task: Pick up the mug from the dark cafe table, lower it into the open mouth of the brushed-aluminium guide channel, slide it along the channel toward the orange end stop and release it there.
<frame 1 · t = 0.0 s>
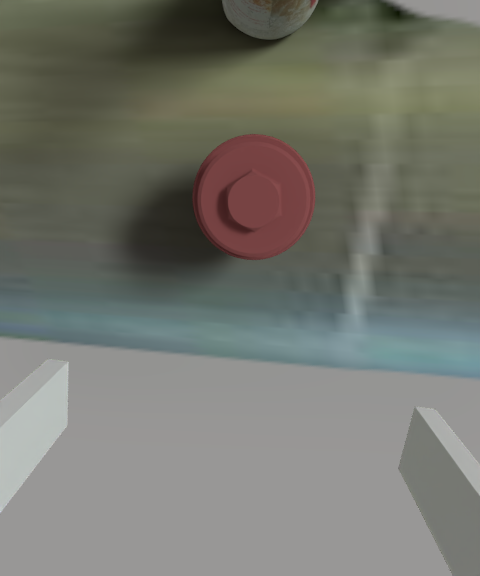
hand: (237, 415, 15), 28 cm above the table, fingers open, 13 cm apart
mechanical component: (253, 196, 41), on the table
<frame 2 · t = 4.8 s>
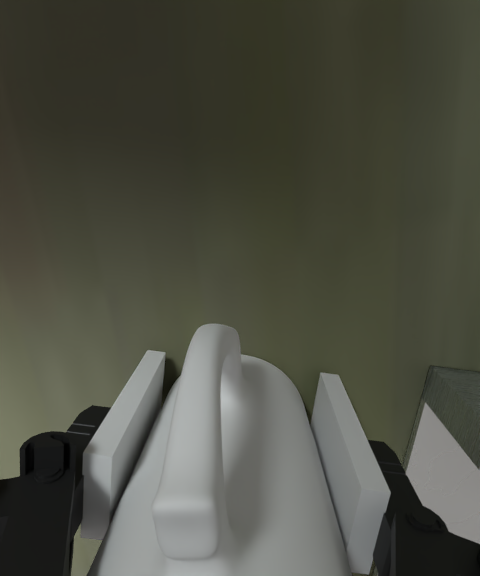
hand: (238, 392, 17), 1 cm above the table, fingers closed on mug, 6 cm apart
mug: (232, 381, 18), on the table, touching gripper
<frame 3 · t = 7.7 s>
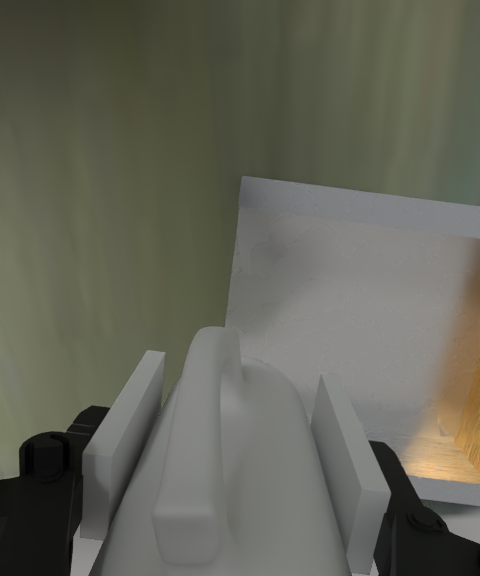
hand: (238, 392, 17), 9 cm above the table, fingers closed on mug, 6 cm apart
mug: (232, 383, 18), point 9 cm above the table, touching gripper
guide channel: (365, 329, 26), on the table
when the fingers open (2 cm above the table, at t = 10.7 s): mug stays where it is, resting on guide channel.
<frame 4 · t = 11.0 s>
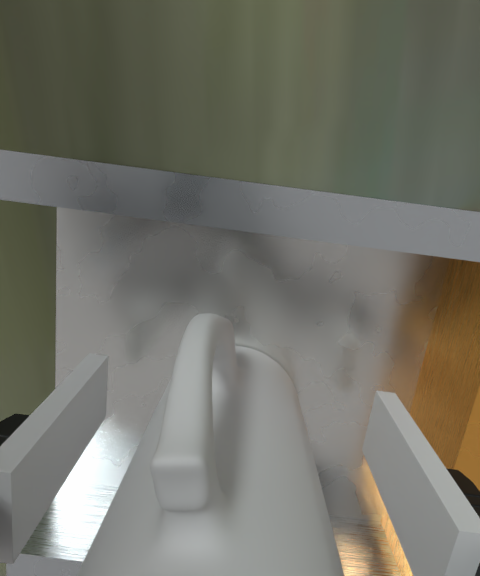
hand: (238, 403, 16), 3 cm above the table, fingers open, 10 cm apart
mug: (229, 371, 19), resting on guide channel
guide channel: (250, 372, 19), on the table
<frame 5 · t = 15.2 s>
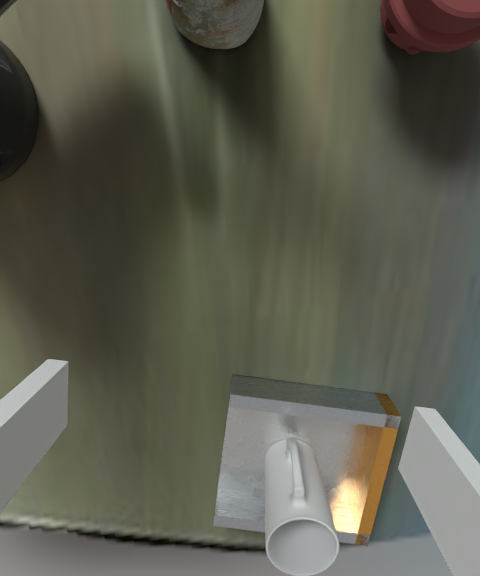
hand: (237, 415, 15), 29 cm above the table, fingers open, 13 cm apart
mechanical component: (412, 15, 37), on the table
mug: (290, 447, 48), resting on guide channel
guide channel: (298, 447, 48), on the table
bottle: (216, 2, 37), on the table
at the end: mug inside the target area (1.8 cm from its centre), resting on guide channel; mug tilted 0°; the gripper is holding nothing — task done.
